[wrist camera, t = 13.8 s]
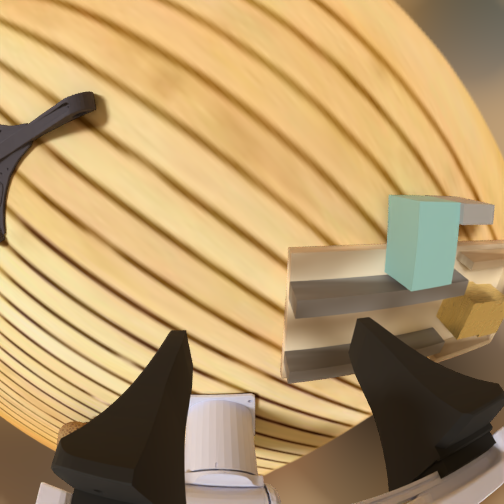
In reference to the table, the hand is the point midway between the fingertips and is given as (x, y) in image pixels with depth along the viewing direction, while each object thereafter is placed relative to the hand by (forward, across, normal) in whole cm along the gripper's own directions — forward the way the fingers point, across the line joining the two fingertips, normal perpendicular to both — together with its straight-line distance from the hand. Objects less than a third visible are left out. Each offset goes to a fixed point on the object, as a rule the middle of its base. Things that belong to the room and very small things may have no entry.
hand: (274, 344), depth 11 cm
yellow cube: (+9, -25, +7) cm, 27 cm away
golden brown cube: (+9, -21, +6) cm, 23 cm away
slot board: (+10, -16, +6) cm, 20 cm away
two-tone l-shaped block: (+8, -14, -5) cm, 17 cm away
